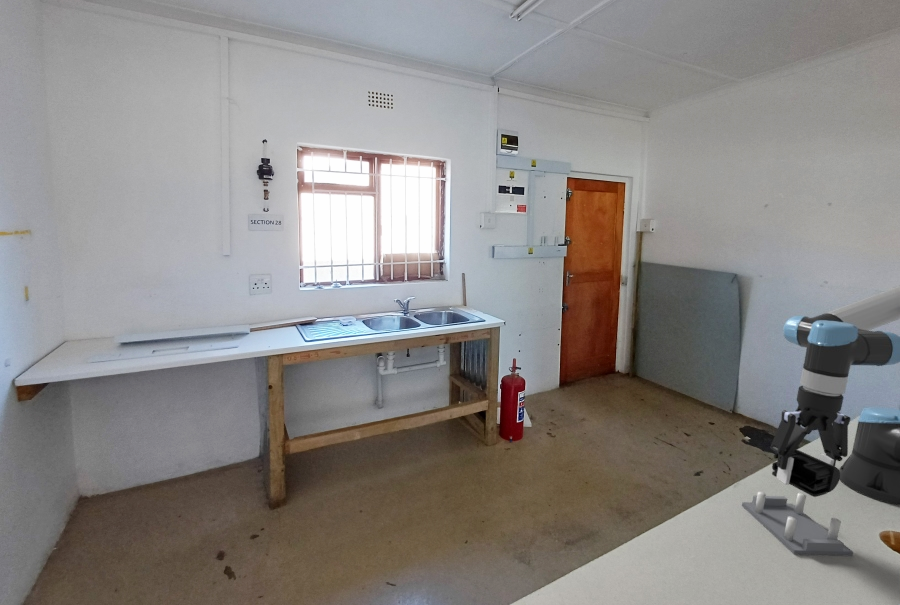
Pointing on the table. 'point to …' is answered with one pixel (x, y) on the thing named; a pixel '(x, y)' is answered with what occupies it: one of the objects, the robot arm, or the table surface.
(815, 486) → the end cap
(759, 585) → the table surface
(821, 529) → the tray
